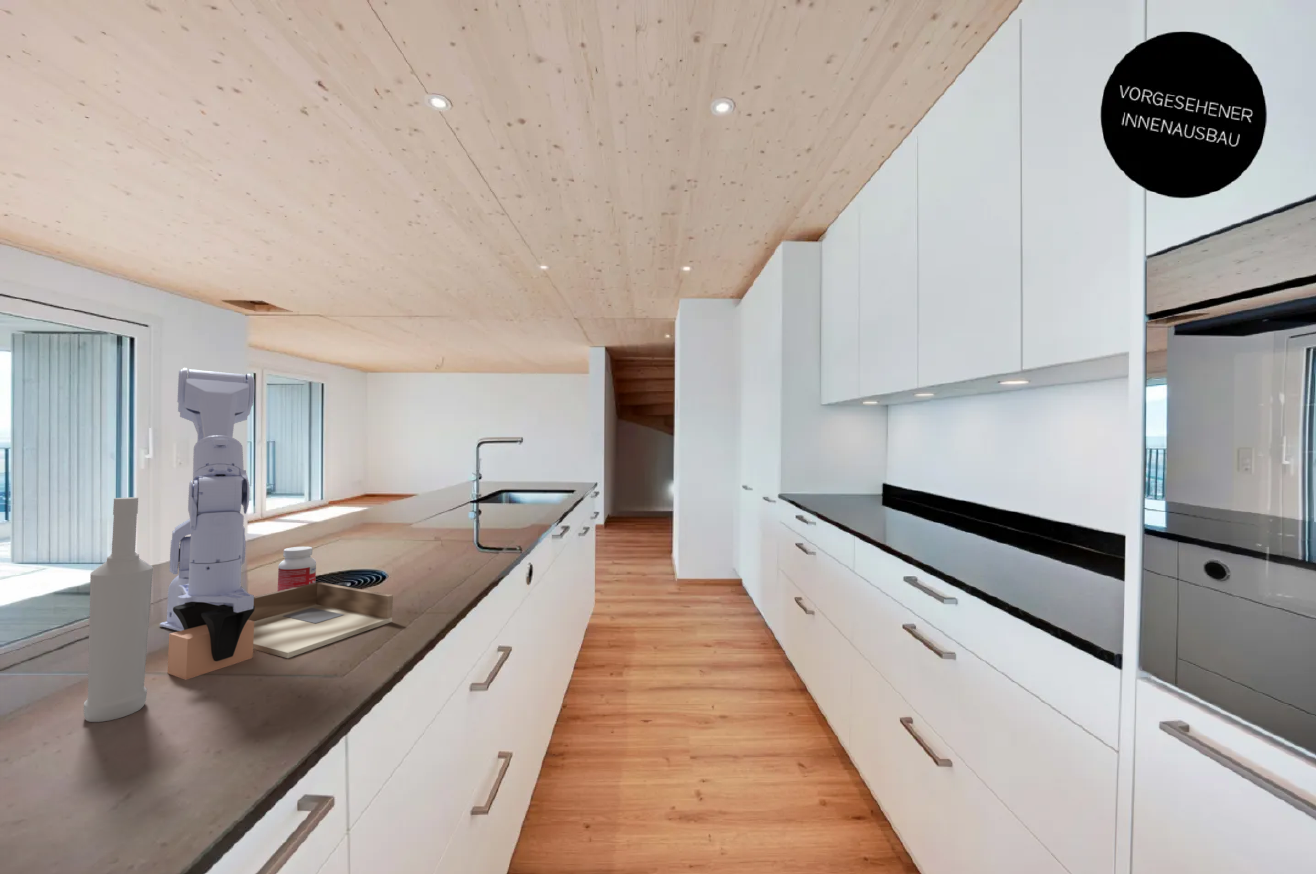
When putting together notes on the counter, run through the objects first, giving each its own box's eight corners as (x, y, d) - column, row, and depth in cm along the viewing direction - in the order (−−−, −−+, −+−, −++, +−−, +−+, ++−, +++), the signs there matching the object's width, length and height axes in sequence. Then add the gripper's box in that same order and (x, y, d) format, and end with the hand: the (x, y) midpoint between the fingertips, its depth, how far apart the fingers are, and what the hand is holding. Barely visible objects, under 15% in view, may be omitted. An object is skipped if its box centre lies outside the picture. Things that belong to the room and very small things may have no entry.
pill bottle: (314, 606, 100) (316, 549, 101) (275, 611, 97) (277, 552, 97) (314, 598, 106) (316, 544, 106) (277, 602, 102) (280, 547, 102)
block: (185, 680, 69) (187, 639, 69) (167, 674, 70) (169, 633, 70) (252, 658, 76) (254, 621, 76) (234, 653, 78) (236, 616, 78)
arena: (208, 636, 84) (209, 607, 84) (317, 606, 100) (318, 581, 100) (287, 658, 76) (288, 625, 76) (391, 621, 93) (392, 595, 93)
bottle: (88, 728, 57) (100, 501, 57) (77, 714, 59) (88, 498, 60) (152, 708, 61) (162, 498, 62) (139, 696, 64) (149, 495, 64)
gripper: (152, 559, 73) (148, 656, 72) (213, 570, 67) (208, 675, 67) (211, 550, 79) (207, 639, 79) (271, 560, 74) (267, 656, 73)
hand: (212, 655), depth 73 cm, fingers open, 5 cm apart
